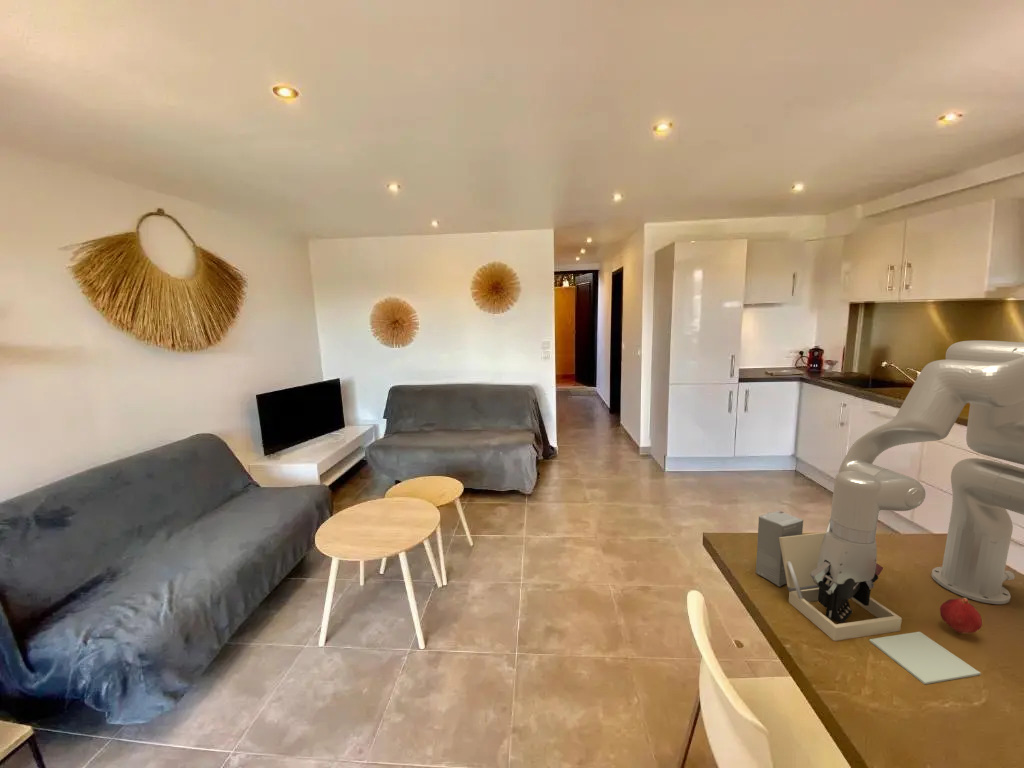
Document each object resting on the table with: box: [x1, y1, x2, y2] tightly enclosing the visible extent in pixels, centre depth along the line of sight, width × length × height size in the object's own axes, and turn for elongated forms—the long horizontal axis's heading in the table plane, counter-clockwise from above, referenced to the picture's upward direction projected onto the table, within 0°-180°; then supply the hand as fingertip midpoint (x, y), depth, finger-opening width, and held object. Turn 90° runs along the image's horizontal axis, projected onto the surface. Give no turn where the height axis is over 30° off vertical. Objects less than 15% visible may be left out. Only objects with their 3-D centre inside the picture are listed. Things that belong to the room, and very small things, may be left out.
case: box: [779, 531, 903, 642], centre depth 91 cm, size 16×16×14 cm
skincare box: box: [755, 510, 804, 587], centre depth 103 cm, size 8×7×16 cm
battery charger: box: [825, 575, 860, 623], centre depth 89 cm, size 7×4×11 cm, turn 123°
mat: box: [868, 631, 982, 685], centre depth 79 cm, size 12×10×1 cm
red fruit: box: [939, 597, 983, 634], centre depth 84 cm, size 6×6×8 cm
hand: (842, 603), depth 89 cm, fingers open, 8 cm apart
